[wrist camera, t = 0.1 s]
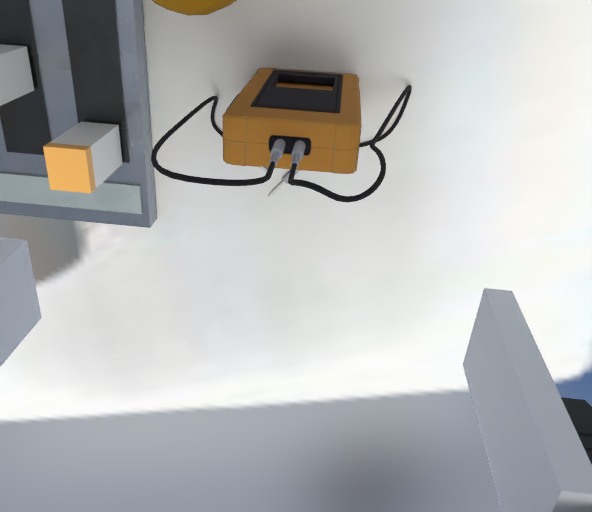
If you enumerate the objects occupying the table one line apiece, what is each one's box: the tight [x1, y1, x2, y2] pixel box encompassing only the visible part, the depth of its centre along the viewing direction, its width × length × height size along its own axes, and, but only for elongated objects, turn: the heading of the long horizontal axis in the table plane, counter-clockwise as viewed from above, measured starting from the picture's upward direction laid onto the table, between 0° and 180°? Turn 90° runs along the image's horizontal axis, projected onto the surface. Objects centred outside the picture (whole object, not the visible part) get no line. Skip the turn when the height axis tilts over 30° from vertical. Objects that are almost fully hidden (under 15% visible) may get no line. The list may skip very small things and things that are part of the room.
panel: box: [0, 0, 157, 228], centre depth 41 cm, size 24×18×2 cm
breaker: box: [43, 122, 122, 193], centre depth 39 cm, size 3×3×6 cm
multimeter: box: [151, 68, 412, 202], centre depth 34 cm, size 15×10×20 cm
